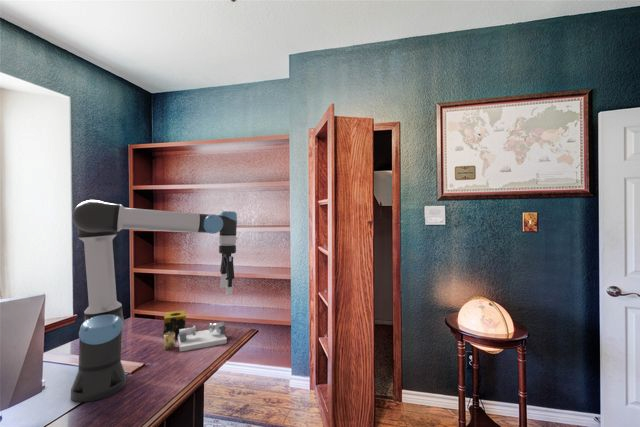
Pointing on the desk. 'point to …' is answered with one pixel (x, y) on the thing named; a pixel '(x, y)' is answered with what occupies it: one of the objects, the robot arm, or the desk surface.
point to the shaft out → (217, 327)
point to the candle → (174, 322)
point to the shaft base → (198, 338)
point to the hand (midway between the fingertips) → (226, 290)
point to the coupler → (169, 340)
